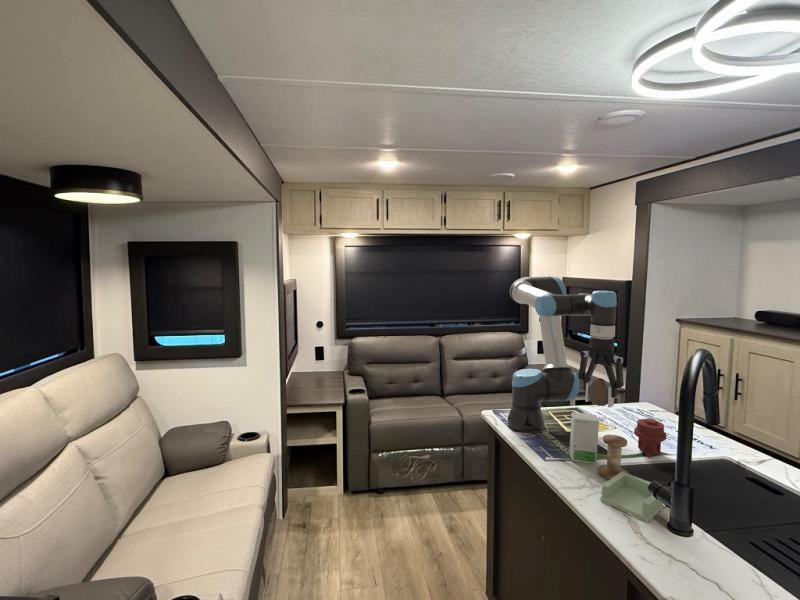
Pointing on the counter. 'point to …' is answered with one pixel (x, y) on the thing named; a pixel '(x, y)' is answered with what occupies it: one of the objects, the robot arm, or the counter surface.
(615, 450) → the bobbin
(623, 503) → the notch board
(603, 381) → the vase
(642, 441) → the mechanical component
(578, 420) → the skincare box
